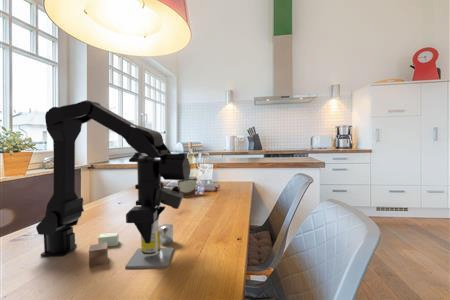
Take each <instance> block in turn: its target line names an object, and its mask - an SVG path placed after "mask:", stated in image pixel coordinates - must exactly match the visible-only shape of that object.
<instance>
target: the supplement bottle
mask: <svg viewBox="0 0 450 300" xmlns="http://www.w3.org/2000/svg"><path fill="white" fill-rule="evenodd" d="M159 226H160V225H159V219H157V220H156V221H155V222H154V223H153V228H152V235H151V241H150V243H145V241H144V239H143V237H142V236H141V235H140V239H141V241H140V243H141V247H140V248H141V249H142V254H143V255H145V256H153V255H156V254H158V253H159V252H160V248H161V245H160V228H159Z"/></svg>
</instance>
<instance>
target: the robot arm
mask: <svg viewBox="0 0 450 300" xmlns="http://www.w3.org/2000/svg"><path fill="white" fill-rule="evenodd" d="M44 115H45V117H44V118H45V127H46V131H47V132H48V134H49V136H50V137H51V139H52V141H53V193H52V195H51V197H50V199H49V200H48V202H47V204H46V209H45V213H44V214H45V215H44V217H43V218H42V219H41V221H40V222H39V223H38V224H37V225H36V227H35V228H36V231H37V234H38V235H42V236H43V247H44V249H43V250H44V251H43V252H42V253H40V257H51V256H52V257H56V256H59V257H60V256H62V257H63V256H66V255H68V253H70V252H71V251H72V250H74V249H75V248H76V247H77V246H78V244H77V243H76V234H75V232H74V226H76V225H77V226H78V222H79V219H80V218H82V217H81V216H82V213H83V212H84V211H85V210H84V204H83V203H84V198H83V197H78V195H77V194H76V191H75V189H76V186H75V183H76V182H75V181H76V180H75V179H76V178H75V177H76V176H75V175H76V169H75V167H76V166H75V165H76V145H75V144H76V140H77V138H78V137H79V135H80V133H81V132H82V126H83V124H87V123H88V122H91V120H93V121H95V122H96V123H98V124H100V125H101V126H104V127H105V128H107V129H108V130H110V131H112V132H114V133H116V134H117V135H119V136H120V137H122V138H123V140H125V142H126V143H127V145H129V146H130V147H131V148H132V149H133V150H134V151H136V152H135V153H134V154H133V156H131V158H129V159H128V162H129V163H137V164H136V167H137V168H136V169H137V184H135V185H134V186H135V187H134V188H135V190H137V200H136V201H135V206H133V207H132V208H131V209H129V210H128V211H127V213H126V214H125V223H126V224H133V225H135V227H136V229H137V230H138V232H139V234H140V237H141V236H142V237H143V239H144V241H145V243H150V241H151V235H152V228H153V223H154V222H155V221H156V220H157V219H158V220H159V218H160V216H161V214H162V212H163V211H165V209H166V207H167V206H168V207H171V208H172V209H175V210H178V209H180V206H181V203H182V200H183V198H184V197H183V195H184V194H183V193H181V190H180V187H178V185H175V186H173V187H172V188H169V187H167V188H166V187H164V186H165V183H164V182H163V181H161V180H162V178H163V180H164V181H165V180H167V181H177V180H188V178H189V177H191V176H190V175H191V164H190V160H189V158H188V153H187V152H180V153H172V152H171V151H170V149H169V148H168V147H167V145H166V144H165V143H164V138H163V135H162V134H161V133H160V132H159V131H157V130H153V129H151V128H147V127H143V126H140V125H138V124H135V123H133V122H131V121H129V120H127V119H125V118H123V117H122V116H121V115H118V114H117V113H115V112H114V111H112V110H109V109H108V108H107V107H104V106H102V105H101V104H100V103H99V102H96V101H91V100H83V101H79V102H77V103H72V104H66V105H62V106H52V107H51V108H49V109H48V110H47V111H46V112H45V114H44ZM143 154H144V155H143ZM161 204H163V206H162V205H161Z"/></svg>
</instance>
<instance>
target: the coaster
mask: <svg viewBox="0 0 450 300" xmlns="http://www.w3.org/2000/svg"><path fill="white" fill-rule="evenodd" d="M174 250H175V247H174V246H173V247H160V252H159V253H158V254H156V255H153V256H145V255H143V254H142V249H141V247H140V248H137V249H136V250H135V252H134V253H133V255H132V256H131V257H130V258H129V260H128V262H127V263H126V264H125V266H124V268H125V269H128V270H129V269H131V270H132V269H155V268H158V269H161V268H165V269H166V268H168V266H169V264H170V261H171V258H172V256H173V253H174Z"/></svg>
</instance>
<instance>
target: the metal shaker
mask: <svg viewBox="0 0 450 300" xmlns="http://www.w3.org/2000/svg"><path fill="white" fill-rule="evenodd" d="M158 226H159V228H160V246H164V247H165V246H171V245H173V244H174V225H173V224H169V223H165V224H161V225H158Z"/></svg>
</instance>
